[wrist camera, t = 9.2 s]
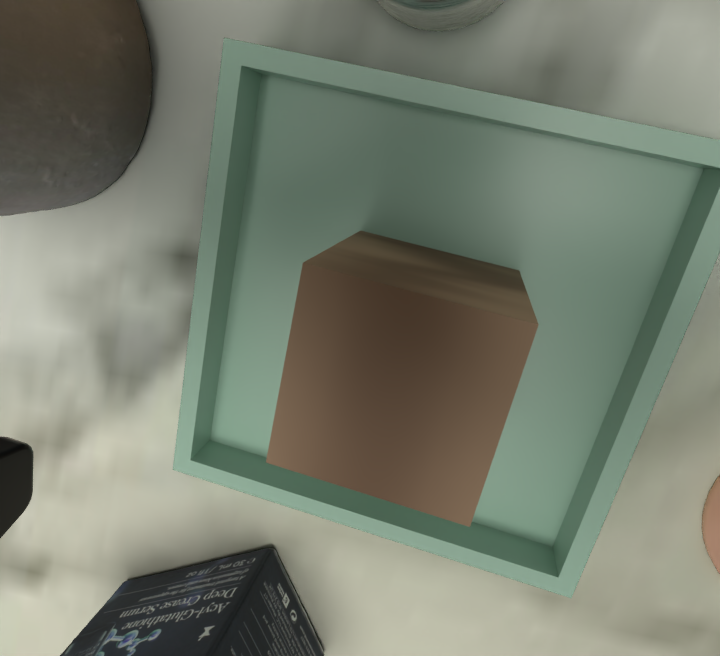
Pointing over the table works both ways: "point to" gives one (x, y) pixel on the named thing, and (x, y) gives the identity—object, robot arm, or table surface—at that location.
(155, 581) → the box
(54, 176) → the pillar candle
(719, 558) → the pink dome
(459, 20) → the grey tin
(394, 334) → the walnut block
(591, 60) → the table surface
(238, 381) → the tray
